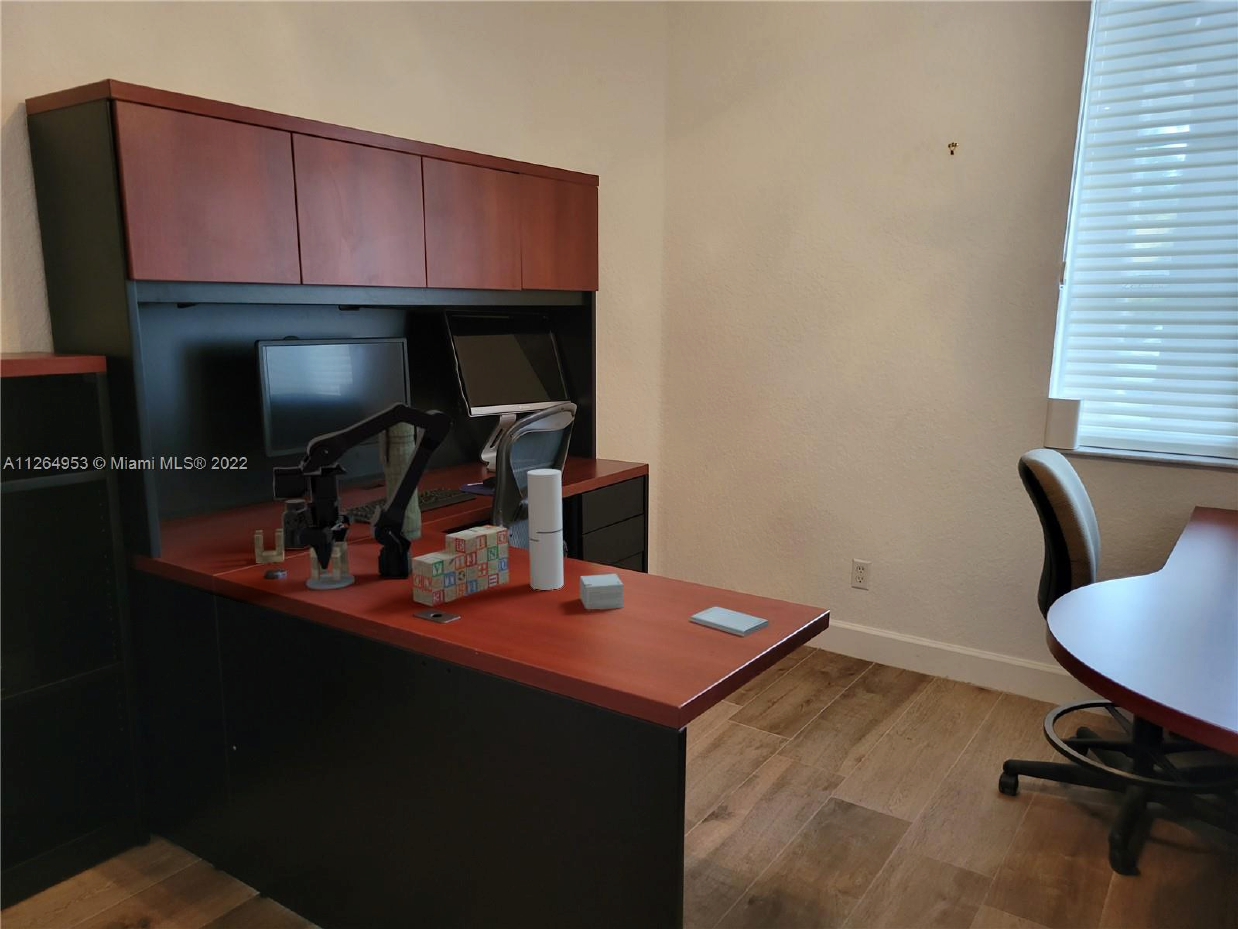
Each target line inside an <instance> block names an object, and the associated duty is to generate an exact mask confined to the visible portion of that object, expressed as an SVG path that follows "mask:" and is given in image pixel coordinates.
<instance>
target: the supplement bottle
mask: <svg viewBox="0 0 1238 929" xmlns="http://www.w3.org/2000/svg"><path fill="white" fill-rule="evenodd" d="M284 505H285V506H284V509H285V510H286V511H284V512H283V513H282V515H281V526H282V528H281V529H282V530H283V543H284V547H285V548H304V547H307V546H309V545H308V544H299V543H298V537H297V534H298V533H299V532H300V531H301V530H303V529H304V528H306V527H309V526H308V525H307V524H305V525H302V526H299V527H297V528H295V529H294V530H290V528H289V527H288V526H287V525H284V522H285V520H284V518H285V513H287V512H290V511H292V510H295V511H299V510H302V509H305V508H307V504H306V500H305V499H301V498H294V499H289V500H288V499H287V500H285V502H284ZM285 548H284V549H285Z"/></svg>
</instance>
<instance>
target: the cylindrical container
mask: <svg viewBox="0 0 1238 929" xmlns="http://www.w3.org/2000/svg"><path fill="white" fill-rule="evenodd" d="M526 473H527V476H526V478H527V508H528V537H529V538H528V540H529V541H528V543H529V544H528V545H529V546H528V548H529V577H530V578H529V580H530V584H529V585H530V586H531V587H532V588H533V590H535V589H540V590H551V589H552V590H551V591H554V590H553V589H557V590H560V589H562V588H563V587H564V586H563V585H564V543H563V539H564V538H563V499H562V498H563V496H562V494H563V492H562V491H563V488H562V471H561V470H559V469H555V468H553V469H552V468H538V469H531V470H528V471H527V472H526ZM562 586H563V587H562ZM531 587H530V588H531ZM561 587H562V588H561ZM532 588H531V589H532ZM559 588H560V589H559ZM540 590H539V591H540Z"/></svg>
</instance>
